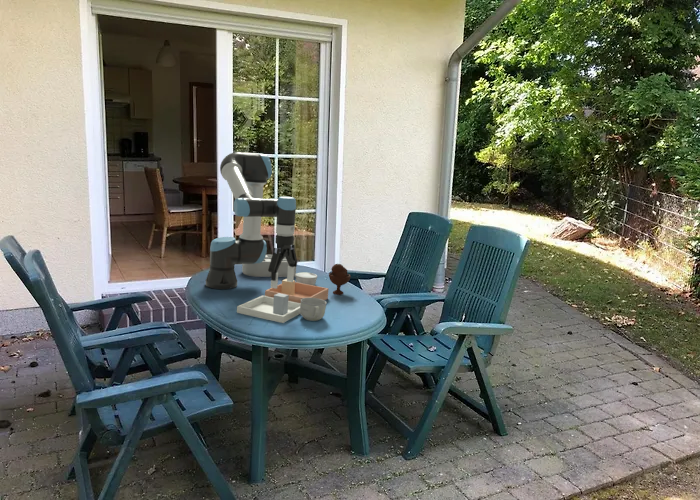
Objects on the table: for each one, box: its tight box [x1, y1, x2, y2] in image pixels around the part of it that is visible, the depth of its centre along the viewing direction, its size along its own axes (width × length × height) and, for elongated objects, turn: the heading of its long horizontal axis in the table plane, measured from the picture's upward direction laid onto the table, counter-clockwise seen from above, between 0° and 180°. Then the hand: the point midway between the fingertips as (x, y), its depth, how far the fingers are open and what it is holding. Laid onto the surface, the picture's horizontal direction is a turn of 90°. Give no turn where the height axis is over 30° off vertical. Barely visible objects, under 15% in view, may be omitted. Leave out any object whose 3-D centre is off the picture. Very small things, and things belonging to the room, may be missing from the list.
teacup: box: [299, 298, 328, 322], centre depth 224 cm, size 14×11×8 cm
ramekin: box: [295, 271, 318, 286], centre depth 278 cm, size 11×11×5 cm
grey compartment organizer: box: [241, 254, 297, 278], centre depth 294 cm, size 17×28×9 cm, turn 108°
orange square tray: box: [264, 281, 330, 303], centre depth 250 cm, size 22×22×5 cm
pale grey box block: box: [273, 293, 289, 315], centre depth 228 cm, size 5×4×8 cm
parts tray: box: [236, 295, 301, 324], centre depth 230 cm, size 22×20×3 cm
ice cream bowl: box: [328, 263, 352, 296], centre depth 266 cm, size 11×11×15 cm
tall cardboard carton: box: [281, 278, 296, 296], centre depth 252 cm, size 5×4×8 cm
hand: (282, 284), depth 226 cm, fingers open, 13 cm apart
